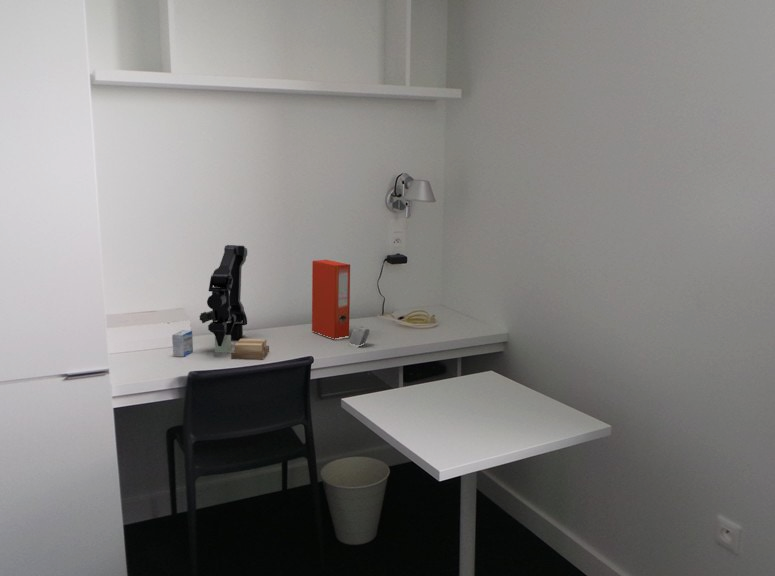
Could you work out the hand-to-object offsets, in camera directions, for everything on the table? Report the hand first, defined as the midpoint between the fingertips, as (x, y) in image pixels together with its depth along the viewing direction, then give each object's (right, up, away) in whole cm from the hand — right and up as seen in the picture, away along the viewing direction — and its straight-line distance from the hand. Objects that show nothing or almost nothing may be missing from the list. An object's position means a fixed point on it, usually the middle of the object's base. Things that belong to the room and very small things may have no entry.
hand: (223, 343), depth 271 cm
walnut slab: (+12, -5, -5) cm, 14 cm away
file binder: (+40, +1, +29) cm, 49 cm away
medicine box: (-14, -4, -5) cm, 16 cm away
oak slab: (+12, -2, -5) cm, 13 cm away
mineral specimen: (+53, -2, +13) cm, 55 cm away
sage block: (0, -3, 0) cm, 3 cm away
